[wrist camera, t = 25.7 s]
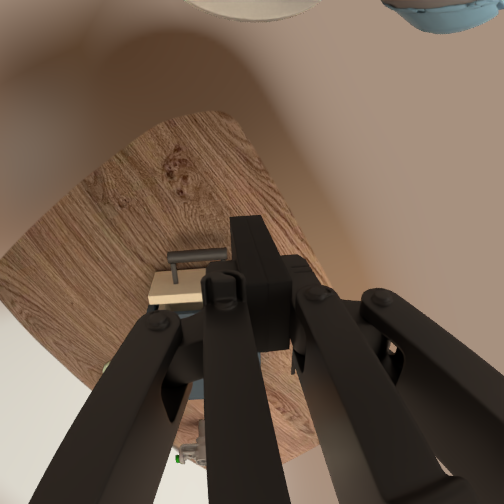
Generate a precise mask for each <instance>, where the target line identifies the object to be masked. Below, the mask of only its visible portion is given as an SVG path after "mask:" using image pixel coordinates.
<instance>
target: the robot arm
mask: <svg viewBox="0 0 504 504" xmlns="http://www.w3.org/2000/svg"><path fill="white" fill-rule="evenodd" d="M381 1H382V3H383V4H384V5H385V6H386V7H388V8H390V9H391V10H394V11H395V12H397V13H398V14H399V15H400V16H401V17H403V18H404V19H405V20H406V21H407V22H409V23H410V24H411V25H412V26H414V27H415V28H417V29H419V30H421V31H424V32H429V33H434V34H450V33H456V32H461V31H464V30H468V29H471V28H474V27H476V26H479V25H481V24H483V23H485V22H487V21H489V20H491V19H492V18H494V17H495V16H497V15H498V10H501V9H504V0H381ZM230 232H231V250H232V260H229V261H216V262H210V263H209V265H208V266H207V267H206V275H205V276H203V277H202V279H201V281H200V283H201V292H202V300H203V308H202V309H201V310H200V311H199V312H198V313H196V314H194V315H192V316H189V317H186V318H182V319H180V317H179V315H178V314H176V313H175V312H173V311H169V310H155V311H151V312H148V313H146V314H145V315H143V316H142V317H141V318H140V319H139V320H138V321H137V322H136V324H135V325H134V327H133V328H132V330H131V331H130V333H129V334H128V336H127V337H126V339H125V340H124V342H123V343H122V345H121V346H120V348H119V350H118V351H117V353H116V354H115V356H114V357H113V359H112V360H111V362H110V363H109V365H108V367H107V368H106V370H105V371H104V373H103V375H102V376H101V378H100V379H99V381H98V382H97V384H96V386H95V387H94V389H93V391H92V392H91V394H90V395H89V397H88V399H87V400H86V402H85V404H84V405H83V407H82V409H81V410H80V412H79V414H78V415H77V417H76V419H75V420H74V422H73V424H72V425H71V427H70V429H69V431H68V432H67V434H66V436H65V438H64V439H63V441H62V443H61V444H60V446H59V448H58V450H57V451H56V453H55V455H54V457H53V459H52V461H51V462H50V464H49V466H48V468H47V470H46V471H45V473H44V475H43V477H42V479H41V481H40V482H39V484H38V486H37V488H36V490H35V492H34V494H33V496H32V498H31V500H30V502H29V504H153V502H154V499H155V495H156V493H157V489H158V487H159V483H160V481H161V478H162V474H163V472H164V469H165V466H166V463H167V460H168V457H169V454H170V451H171V448H172V445H173V442H174V439H175V436H176V433H177V431H178V428H179V425H180V422H181V419H182V416H183V413H184V410H185V407H186V404H187V401H188V399H189V396H190V393H191V390H192V387H193V382H194V381H197V380H200V379H203V381H204V420H205V446H206V466H207V484H208V499H209V504H291V502H290V497H289V493H288V489H287V485H286V480H285V476H284V471H283V467H282V462H281V458H280V454H279V449H278V445H277V440H276V436H275V431H274V427H273V422H272V418H271V413H270V409H269V404H268V400H267V395H266V390H265V386H264V381H263V377H262V372H261V367H260V362H259V358H258V353H260V352H269V351H278V350H286V349H289V345H290V339H291V342H292V345H293V353H292V367H291V375H293V374H295V369H296V371H297V374H298V377H299V380H300V383H301V386H302V390H303V393H304V396H305V399H306V402H307V405H308V408H309V411H310V414H311V417H312V420H313V423H314V427H315V430H316V433H317V436H318V439H319V442H320V445H321V448H322V451H323V455H324V457H325V461H326V464H327V467H328V470H329V473H330V476H331V479H332V483H333V486H334V489H335V492H336V495H337V498H338V501H339V504H504V376H503V375H502V374H501V373H500V372H498V371H497V370H496V369H495V368H493V367H492V366H491V365H490V364H488V363H487V362H486V361H485V360H483V359H482V358H481V357H480V356H478V355H477V354H476V353H475V352H473V351H472V350H471V349H469V348H468V347H467V346H466V345H464V344H463V343H462V342H460V341H459V340H458V339H456V338H455V337H454V336H453V335H451V334H450V333H449V332H447V331H446V330H445V329H443V328H442V327H440V326H439V325H438V324H437V323H435V322H434V321H433V320H431V319H430V318H429V317H427V316H426V315H425V314H423V313H422V312H421V311H419V310H418V309H416V308H415V307H414V306H412V305H411V304H410V303H408V302H407V301H405V300H404V299H403V298H401V297H400V296H398V295H397V294H396V293H394V292H392V291H390V290H386V289H383V288H374V289H369V290H367V291H365V292H364V293H363V295H362V297H361V301H351V300H342V299H340V298H339V296H338V294H337V293H336V292H335V291H334V290H333V289H332V288H329V287H327V286H324V285H321V283H320V282H319V280H318V279H317V277H316V275H315V274H314V272H312V269H311V267H309V264H308V263H307V261H306V259H304V258H302V257H301V256H299V255H297V254H295V255H282V256H280V254H279V252H278V250H277V247H276V245H275V243H274V241H273V239H272V237H271V235H270V233H269V231H268V229H267V227H266V225H265V223H264V221H263V219H262V217H261V215H252V216H236V217H230ZM391 342H392V343H393V344H394V345H395V346H396V347H397V349H396V352H395V353H393V352H392V351H391V350H389V347H390V343H391ZM435 456H436V457H437V458H438V459H439V461H440V462H441V463H442V464H443V465H444V466H445V467H446V468H447V469H448V470H449V471H450V472H451V473H452V475H453V476H449V475H447V474H445V472H444V471H443V470H442V468H441V466H440V464H439V463H438V461H437V459H436V457H435Z"/></svg>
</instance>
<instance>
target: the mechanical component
mask: <svg viewBox="0 0 504 504" xmlns="http://www.w3.org/2000/svg"><path fill="white" fill-rule="evenodd" d="M196 442H197V444H183V445H181V446H180V448H179V455H176V462H177V463H181V464H185V460H187V459H194V460H196V464H197V465H200V466H206V446H205V420H200V421H199V437H198V438H197V439H196Z"/></svg>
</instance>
